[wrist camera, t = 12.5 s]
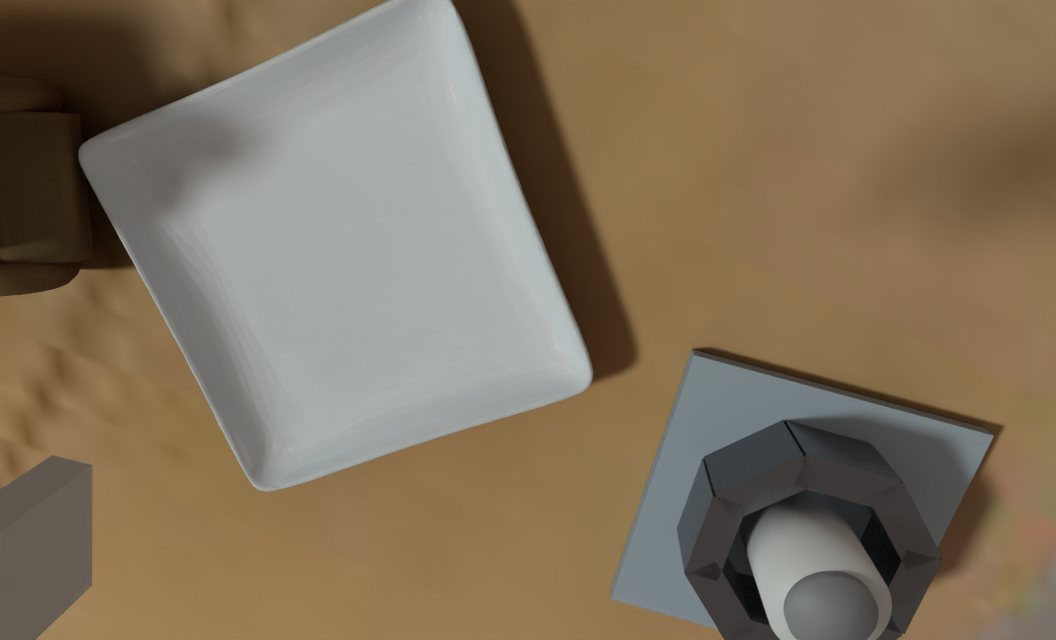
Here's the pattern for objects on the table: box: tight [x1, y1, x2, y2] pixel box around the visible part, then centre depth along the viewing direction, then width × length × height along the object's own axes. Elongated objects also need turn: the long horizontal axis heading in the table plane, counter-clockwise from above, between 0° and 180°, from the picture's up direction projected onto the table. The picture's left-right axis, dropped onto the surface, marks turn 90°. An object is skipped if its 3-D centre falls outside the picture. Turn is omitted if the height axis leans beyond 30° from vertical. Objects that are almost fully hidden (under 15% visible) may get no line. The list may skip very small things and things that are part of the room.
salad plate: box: [78, 0, 593, 491], centre depth 36 cm, size 21×21×3 cm
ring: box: [677, 420, 942, 640], centre depth 36 cm, size 12×12×4 cm
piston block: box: [611, 349, 994, 640], centre depth 35 cm, size 16×16×8 cm
